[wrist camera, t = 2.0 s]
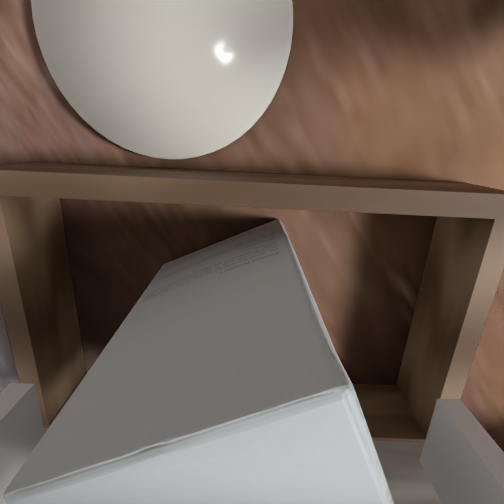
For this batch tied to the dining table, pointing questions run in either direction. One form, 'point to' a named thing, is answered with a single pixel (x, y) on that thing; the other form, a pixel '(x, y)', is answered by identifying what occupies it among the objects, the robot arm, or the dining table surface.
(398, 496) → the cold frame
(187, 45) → the saucer
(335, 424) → the supplement box
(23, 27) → the dining table surface
